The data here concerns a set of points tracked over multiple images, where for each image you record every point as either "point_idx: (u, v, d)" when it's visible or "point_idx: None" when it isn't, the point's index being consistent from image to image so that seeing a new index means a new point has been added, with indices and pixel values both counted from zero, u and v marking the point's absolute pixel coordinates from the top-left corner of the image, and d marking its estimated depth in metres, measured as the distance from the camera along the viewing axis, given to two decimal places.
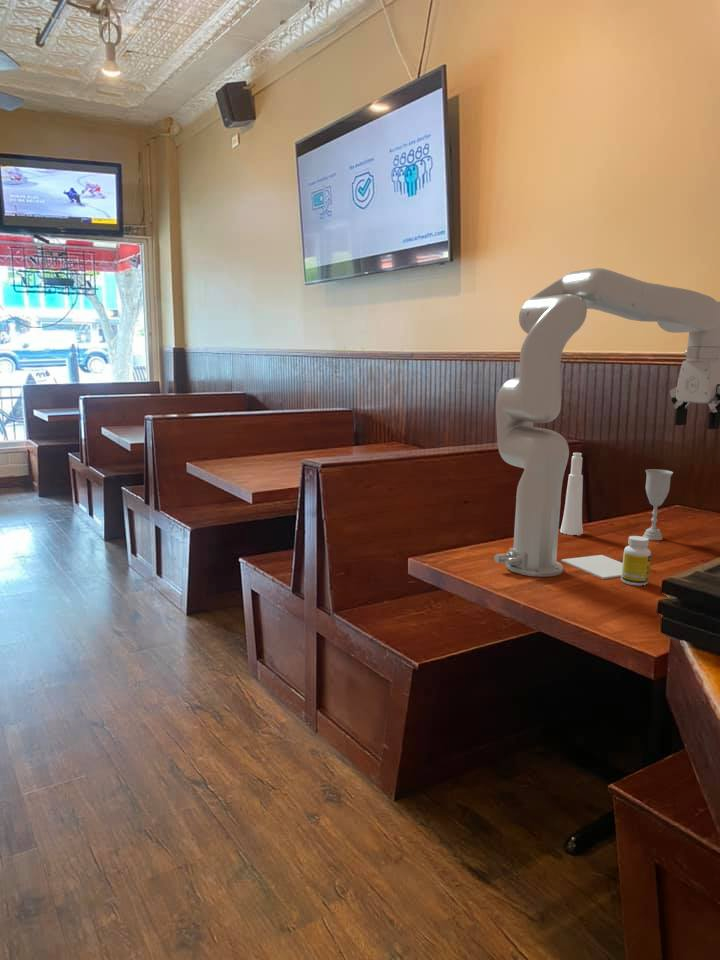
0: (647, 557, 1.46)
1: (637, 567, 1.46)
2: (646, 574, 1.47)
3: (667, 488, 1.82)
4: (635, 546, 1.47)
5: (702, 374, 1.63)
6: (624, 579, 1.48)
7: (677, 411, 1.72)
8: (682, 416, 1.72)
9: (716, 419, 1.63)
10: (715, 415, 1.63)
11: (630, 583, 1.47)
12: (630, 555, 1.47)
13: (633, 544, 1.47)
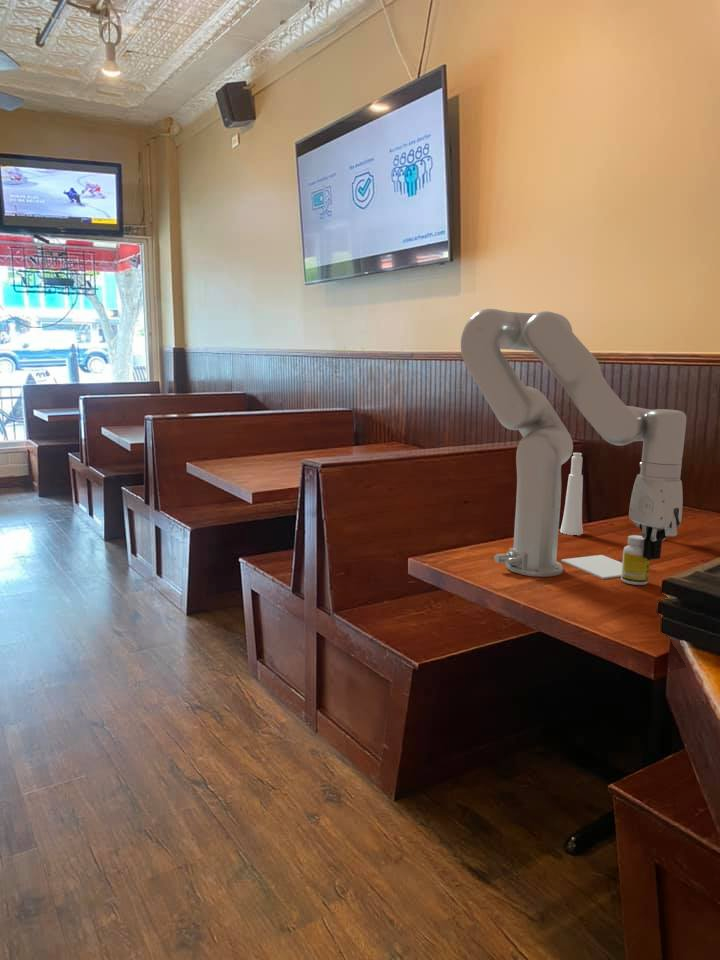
0: None
1: (637, 566, 1.46)
2: (646, 573, 1.47)
3: None
4: (634, 545, 1.47)
5: (657, 495, 1.39)
6: (624, 578, 1.48)
7: (645, 542, 1.44)
8: None
9: (656, 549, 1.43)
10: (654, 544, 1.42)
11: (630, 582, 1.47)
12: (629, 554, 1.47)
13: (632, 543, 1.47)
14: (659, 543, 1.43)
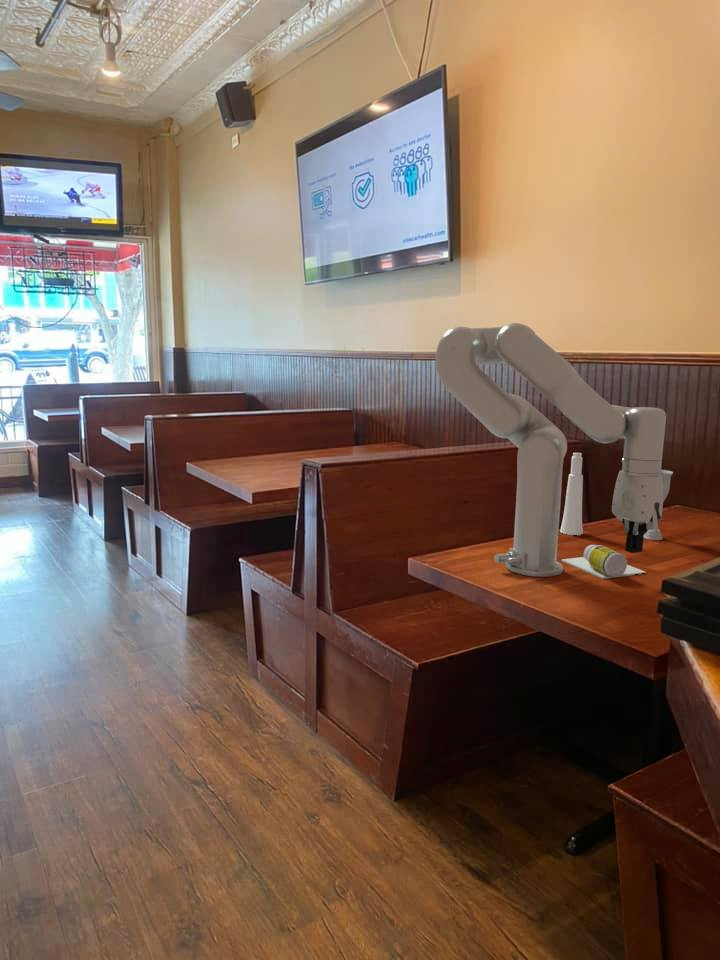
0: (594, 548, 1.56)
1: (595, 558, 1.54)
2: (605, 552, 1.52)
3: (667, 488, 1.82)
4: (588, 557, 1.58)
5: (638, 490, 1.43)
6: (606, 573, 1.51)
7: (628, 536, 1.48)
8: None
9: (638, 542, 1.47)
10: (637, 538, 1.47)
11: (605, 568, 1.50)
12: (589, 563, 1.56)
13: (586, 558, 1.58)
14: (641, 537, 1.47)
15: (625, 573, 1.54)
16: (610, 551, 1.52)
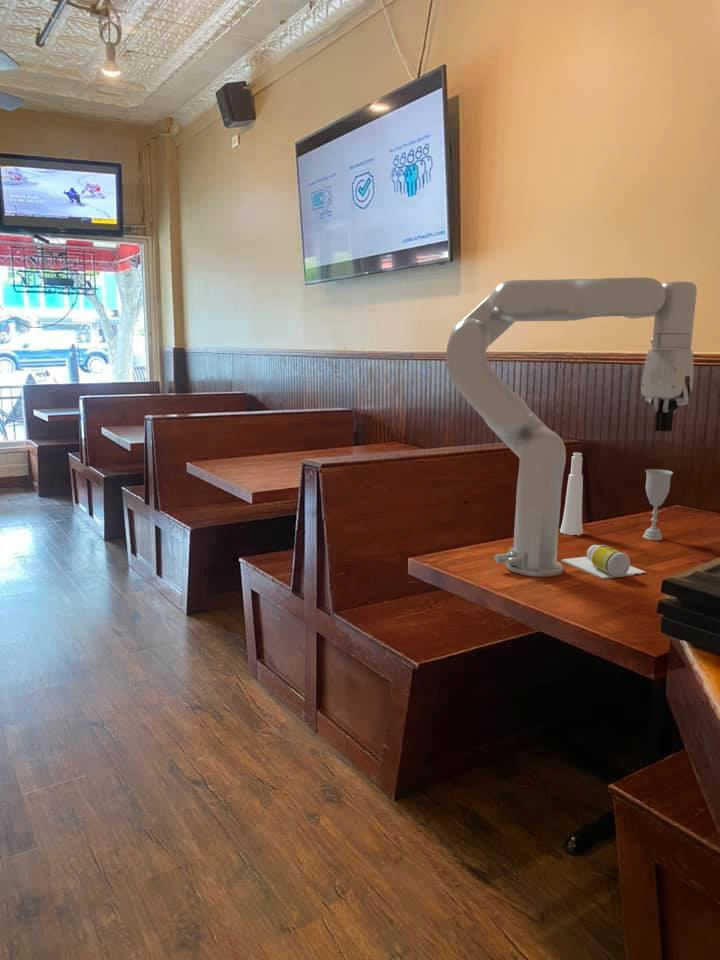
0: (600, 546, 1.56)
1: (599, 555, 1.54)
2: (611, 550, 1.52)
3: (667, 488, 1.82)
4: (591, 555, 1.58)
5: (669, 365, 1.43)
6: (607, 570, 1.51)
7: (657, 415, 1.48)
8: None
9: (667, 420, 1.47)
10: (666, 416, 1.47)
11: (608, 564, 1.50)
12: (592, 559, 1.56)
13: (589, 556, 1.58)
14: (671, 414, 1.47)
15: None
16: (616, 550, 1.52)
